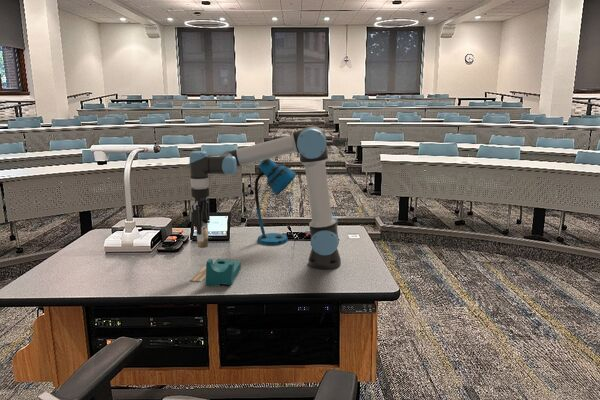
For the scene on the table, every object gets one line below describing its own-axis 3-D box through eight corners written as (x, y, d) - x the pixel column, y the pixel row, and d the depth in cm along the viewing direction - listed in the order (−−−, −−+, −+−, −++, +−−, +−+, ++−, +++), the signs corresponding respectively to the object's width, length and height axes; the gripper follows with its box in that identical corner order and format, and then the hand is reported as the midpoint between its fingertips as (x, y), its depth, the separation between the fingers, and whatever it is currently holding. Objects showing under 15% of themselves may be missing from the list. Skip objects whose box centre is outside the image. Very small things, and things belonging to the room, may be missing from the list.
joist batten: (215, 268, 222) (215, 267, 222) (200, 282, 207) (200, 281, 207) (204, 267, 223) (204, 266, 223) (189, 281, 208) (189, 280, 208)
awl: (209, 244, 215) (208, 220, 213) (205, 248, 211) (204, 223, 209) (200, 244, 216) (199, 220, 214) (196, 247, 212) (194, 222, 210)
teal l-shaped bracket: (230, 288, 202) (232, 264, 200) (205, 285, 203) (206, 261, 200) (240, 271, 220) (241, 250, 217) (216, 269, 220) (217, 247, 218)
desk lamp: (297, 245, 253) (296, 159, 243) (255, 245, 253) (252, 160, 242) (296, 235, 269) (296, 155, 259) (257, 236, 269) (254, 155, 258)
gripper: (200, 183, 217) (202, 233, 222) (182, 191, 200) (186, 245, 206) (215, 183, 215) (218, 234, 221) (199, 192, 199) (202, 246, 204)
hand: (202, 239), depth 213 cm, fingers closed on awl, 4 cm apart
